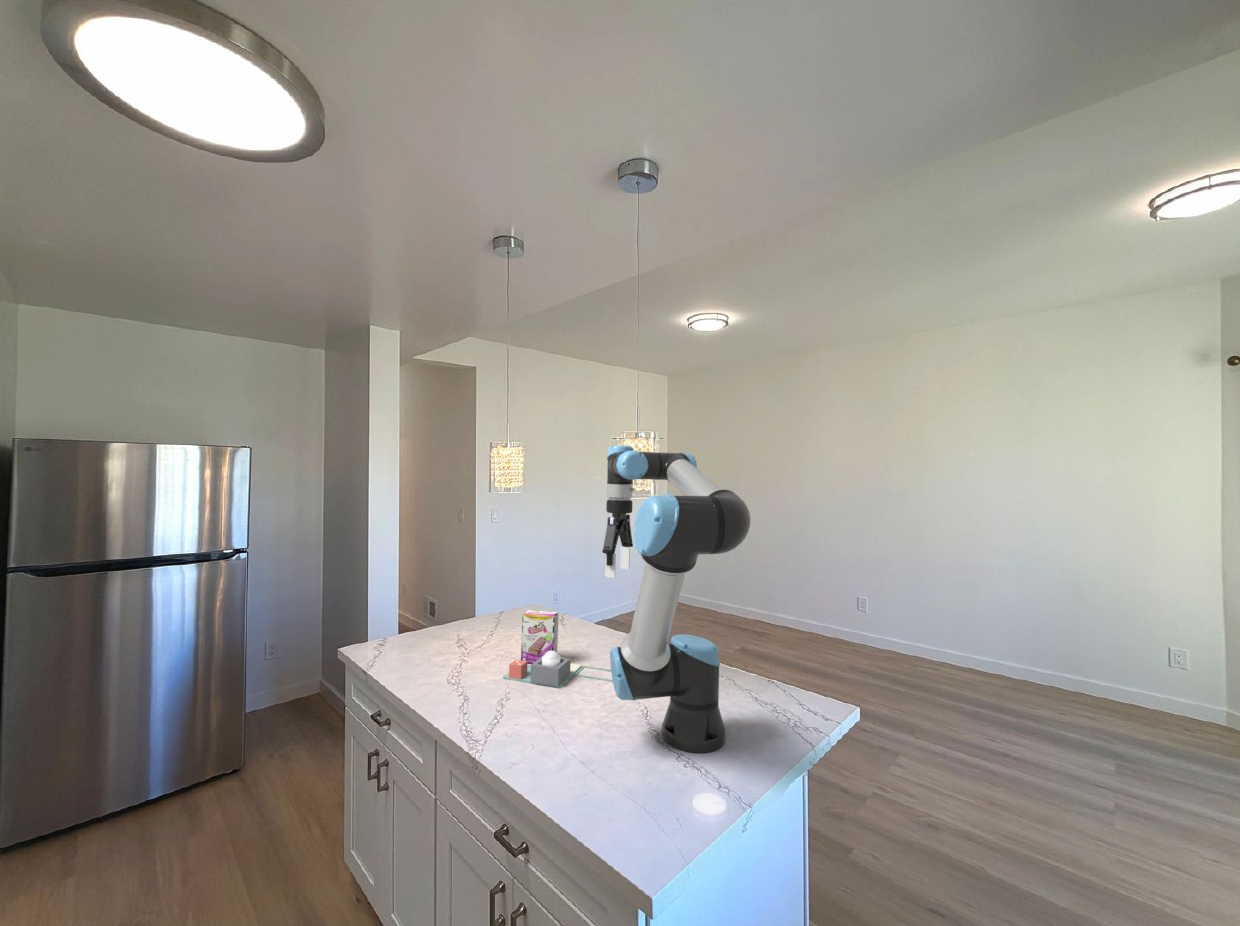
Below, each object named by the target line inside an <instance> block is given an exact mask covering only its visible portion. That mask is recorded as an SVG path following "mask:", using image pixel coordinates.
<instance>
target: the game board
mask: <svg viewBox="0 0 1240 926" xmlns="http://www.w3.org/2000/svg"><path fill="white" fill-rule="evenodd" d="M571 660H572V659H571V658H569V657H561V656H560V664H559V665H558V666H557V667H553V666H547V665H542V657H541V658H539V659H538V660H537V661H535V662H534V663H533V664H527V663H528V661H521V659H520V660H519V659H515V660H514V661H512V662H511V663H509V668H508V669H509V670H508V673H506V674H505V675H504V676H502V679H504V680H509V681H516V682H522V683H528V684H535V685H539V686H540V685H541V686H545V687H546V686H547V687H552V688H558V689H560V688H562V687H563V686H564V685H565V684H566V683H567V682H568V681H570V680H571V678H572V677H574V674H575V673H576V672H577V671H578V670H579V669H580V668H581V667H582V666H583V665H582V664H577V663H571Z"/></svg>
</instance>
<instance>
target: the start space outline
mask: <svg viewBox="0 0 1240 926" xmlns="http://www.w3.org/2000/svg"><path fill="white" fill-rule="evenodd" d="M584 668H587V669H594V670H599V671H601V670H602V671H607V672H611V669H609V668H608V669H607V668H604V667H603V668H602V667H595V666H588V665H582V667H581V668H580V669H579V670H578V671H577V672H576V673H575V674H574V675H573V677H581V678H587V679H593V680H601V681H607V682H612V683H613V679H610V678H602V677H597V676H589V675H583V674H580V673H581V671H582V670H584Z"/></svg>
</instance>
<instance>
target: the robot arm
mask: <svg viewBox="0 0 1240 926" xmlns="http://www.w3.org/2000/svg"><path fill="white" fill-rule="evenodd" d="M606 460H607V475H606V476H607V477H606V478H607V480H606V481H607V483H606V498H608V499H607V500H606V508H605V509H606V510H605V511H606V512H607V513H609V514H612V515H611V516H607V522H606V523H607V525H606V531H605V536H604V542H603V548H602V551H601V552H602V554H605V569H604V570H605V571H604V573H605V578H610V579H611V578H612V579H613V578H614V579H615V578H616V574H617V573H616V569H617V568H616V567H617V566H616V565H617V561H616V560H617V553H615V552H616V548H617V545H618V541H619V539H620V544H621V546H620V555H619V556H620V557H619V558H620V559H619V562H620V563H619V565H620V566H619V567H620V569H621V570H630V565H631V564H630V562H631V561H630V560H631V559H630V558H631V556H630V554H631V548H632V547H633V546H634V545H635V549H636V550H637V552H638V553H639V554H640V557H641V559H642V560H643V562H644V566H643V571H642V577H641V580H640V585H639V589H638V594H637V599H636V603H635V609H634V614H633V617H632V623H631V628H630V632H628V633H627V634H625V636H624V637H623V638H622V641H621V643H620V646H617V645H616V646H614V647H612V648H611V649H610V651H609V652H610V653H609V654H610V655H609V661H610V670H611V671H610V673H611V680H613V682H612V684H613V688H614V691H615V695H616V696H617V698H618V699H619V700H622V701H636V700H637V701H638V700H646V699H656V698H665V697H666V698H667V697H669V704H668V707H667V710H666V712H665V715H664V718H663V720H662V721H663V722H662V724H661V725H662V729H661V731H662V732H661V735H662V738H663V739H664V741H665V742H666V743H667V744H668V745H670V746H672V747H674V748H675V749H678V750H681V751H685V752H690V753H697V754H698V753H699V754H701V753H710V752H713V751H717V750H718V748H719V749H720V748H722V747H723V746H724V744H725V743H726V727H725V724H724V721H723V717H722V713H721V710H720V707H719V698H720V697H719V696H720V695H719V693H720V667H721V662H720V651H719V648H718V646H717V645H716V644H715V643H714V642H712V641H711V640H708V639H706V638H704V637H701V636H698V635H697V636H696V635H692V634H675V635H673V636H672V637H671V639H670V643H668V641H669V636H670V633H671V629H672V626H673V621H674V619H675V615H676V611H677V607H678V603H679V598H680V597H681V596H680V594H681V592H682V588H683V584H684V580H685V576H686V574H687V573H689V572H690V571H692V570H693V569H694V568H695V566H696V564H697V561H698V556H700V555H718V554H726V553H728V552H731V551H733V550H735V549H736V548H737V547H738V546H740V545H741V544H742V542H743V541H744V540H745V539H746V537H747V535H748V533H749V531H750V529H751V528H750V527H751V514H750V510H749V508H748V506H747V504H746V502H745V501H744V500H743V499H742V498H741V497H740V496H739V495H738V494H736V493H735V492H733V491H732V490H730V489H725V488H724V489H723V488H722V487H720V486H719V485H718V484H717V483H716V482H715V481H713V480H712V479H711V478H709V476H707V475H705V473H703V471H701V470H700V469H698V467H697V465H698V464H697V460H696V458H695V456H694V455H693V454H692V453H684V452H657V451H656V452H655V451H653V452H652V451H651V452H650V451H637V450H634V448H633V446H630V445H610V446H609V447H608V448H607V456H606ZM634 480H654V481H668V482H669V483H670V484H671V485H672V486H673V487H674V488H675V489H676V490H677V491H678V492H679V493H680V494H681V495H674V494H671V493H670V494H669V493H667V494H663V495H650V496H649V497H647V498H646V499H644V500H643V502H642V503H641V504H640V506H639V508H638V510H637V514H636V517H635V522H634V528H635V529H634V532H633V536H632V529H631V523H630V522H631V519H630V518H631V515H630V514H632V512H633V500H631V499H632V498H633V493H634V492H635V487H634V486H633V485H634ZM632 537H633V538H634V542H633V538H632ZM716 749H717V750H716Z"/></svg>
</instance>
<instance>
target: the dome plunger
mask: <svg viewBox="0 0 1240 926" xmlns="http://www.w3.org/2000/svg"><path fill="white" fill-rule="evenodd" d="M560 657H561V655H560V654H558V651H557V652H555V651H548V652H546V653H545V655H543V656H542V665H547V666H553V667H557V666H558V665H559V664H560Z"/></svg>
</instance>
